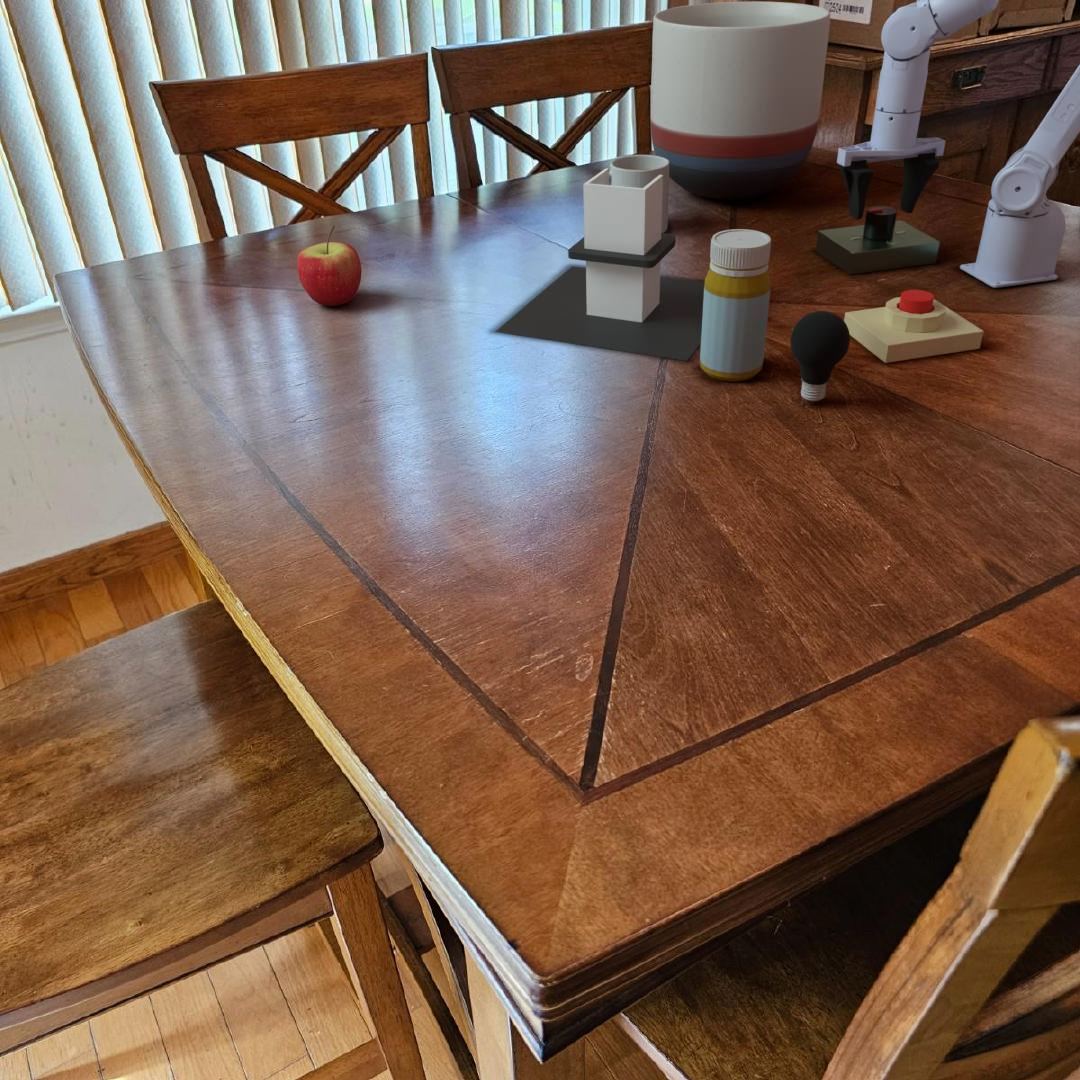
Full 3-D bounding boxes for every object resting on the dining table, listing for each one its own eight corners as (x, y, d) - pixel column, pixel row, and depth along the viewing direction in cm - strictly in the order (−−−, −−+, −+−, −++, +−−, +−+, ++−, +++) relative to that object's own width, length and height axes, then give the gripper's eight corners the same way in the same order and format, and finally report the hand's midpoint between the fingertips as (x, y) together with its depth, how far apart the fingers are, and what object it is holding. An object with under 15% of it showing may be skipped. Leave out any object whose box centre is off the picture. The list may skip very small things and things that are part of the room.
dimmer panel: (897, 240, 144) (901, 219, 142) (935, 263, 136) (940, 240, 134) (815, 251, 142) (818, 229, 140) (849, 274, 134) (853, 252, 132)
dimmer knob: (883, 229, 139) (887, 202, 137) (898, 238, 136) (903, 210, 134) (857, 233, 138) (861, 205, 136) (872, 241, 135) (876, 214, 133)
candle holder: (743, 287, 132) (753, 160, 122) (687, 360, 114) (694, 219, 105) (572, 266, 141) (569, 146, 131) (495, 331, 123) (485, 198, 114)
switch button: (920, 302, 116) (923, 287, 115) (937, 313, 113) (940, 298, 112) (892, 306, 116) (895, 291, 115) (909, 317, 113) (911, 303, 112)
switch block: (931, 316, 122) (937, 285, 119) (979, 348, 114) (987, 316, 111) (842, 329, 119) (847, 297, 117) (885, 363, 111) (891, 330, 109)
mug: (677, 224, 154) (679, 158, 148) (649, 242, 148) (650, 174, 142) (616, 215, 159) (616, 150, 153) (586, 232, 153) (585, 166, 147)
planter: (831, 180, 170) (854, 4, 154) (776, 226, 151) (796, 31, 136) (688, 164, 182) (695, -2, 166) (621, 205, 163) (622, 23, 148)
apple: (379, 299, 133) (368, 226, 128) (328, 319, 128) (315, 243, 123) (341, 286, 138) (330, 214, 132) (291, 304, 133) (277, 231, 127)
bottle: (766, 360, 113) (779, 230, 105) (756, 386, 108) (769, 252, 99) (706, 353, 115) (714, 225, 107) (693, 379, 110) (701, 247, 101)
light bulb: (841, 417, 102) (855, 326, 96) (783, 413, 103) (793, 323, 97) (839, 391, 106) (852, 303, 101) (783, 388, 108) (793, 300, 102)
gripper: (931, 97, 132) (913, 200, 140) (832, 107, 130) (819, 211, 137) (961, 108, 126) (940, 214, 134) (858, 119, 124) (843, 226, 132)
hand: (881, 214), depth 135 cm, fingers open, 7 cm apart
